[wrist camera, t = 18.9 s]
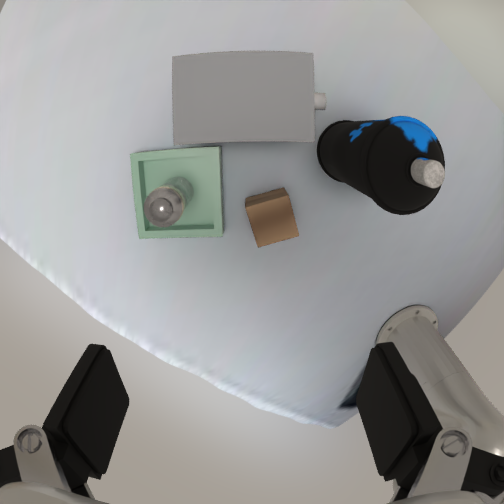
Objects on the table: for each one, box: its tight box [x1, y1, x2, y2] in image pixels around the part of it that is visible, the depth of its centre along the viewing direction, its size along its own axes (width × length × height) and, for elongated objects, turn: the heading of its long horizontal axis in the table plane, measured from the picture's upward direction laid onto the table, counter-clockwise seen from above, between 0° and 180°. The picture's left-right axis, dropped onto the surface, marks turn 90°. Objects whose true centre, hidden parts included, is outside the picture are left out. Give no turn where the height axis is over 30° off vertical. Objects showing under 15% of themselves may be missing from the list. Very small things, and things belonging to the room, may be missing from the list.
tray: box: [130, 146, 224, 239], centre depth 36 cm, size 11×11×2 cm
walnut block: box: [245, 187, 299, 247], centre depth 36 cm, size 5×5×5 cm
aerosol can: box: [317, 116, 445, 215], centre depth 26 cm, size 8×8×20 cm
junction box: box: [172, 51, 326, 145], centre depth 28 cm, size 9×14×11 cm, turn 91°
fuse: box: [144, 177, 194, 227], centre depth 33 cm, size 4×4×9 cm
